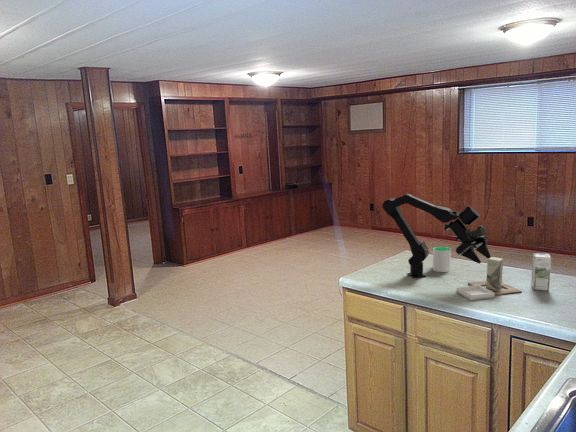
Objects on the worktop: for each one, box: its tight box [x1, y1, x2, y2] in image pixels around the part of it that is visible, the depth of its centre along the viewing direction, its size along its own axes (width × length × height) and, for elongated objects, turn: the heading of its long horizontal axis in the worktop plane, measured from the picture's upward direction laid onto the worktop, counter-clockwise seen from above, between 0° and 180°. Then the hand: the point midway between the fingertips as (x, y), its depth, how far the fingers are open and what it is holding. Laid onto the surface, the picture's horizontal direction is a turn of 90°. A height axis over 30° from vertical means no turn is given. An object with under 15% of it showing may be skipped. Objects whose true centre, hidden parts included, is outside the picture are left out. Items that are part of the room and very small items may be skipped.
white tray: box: [456, 285, 495, 301], centre depth 186 cm, size 10×10×2 cm
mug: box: [432, 246, 452, 273], centre depth 224 cm, size 12×8×10 cm, turn 177°
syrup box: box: [530, 252, 552, 292], centre depth 190 cm, size 6×6×14 cm
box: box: [485, 256, 504, 291], centre depth 192 cm, size 5×4×13 cm
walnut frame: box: [467, 280, 523, 297], centre depth 194 cm, size 16×14×1 cm
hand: (485, 260), depth 195 cm, fingers open, 9 cm apart
